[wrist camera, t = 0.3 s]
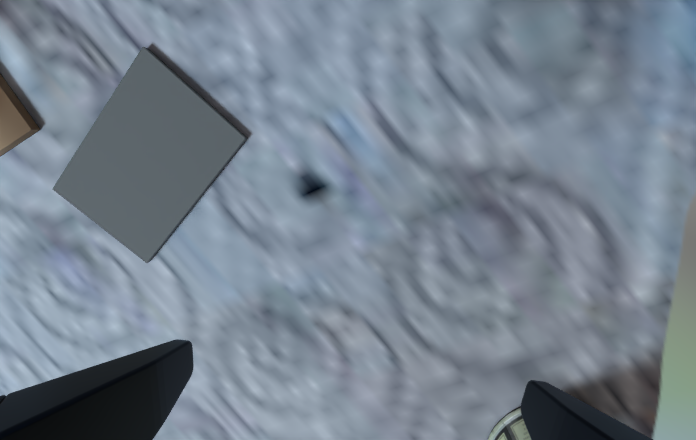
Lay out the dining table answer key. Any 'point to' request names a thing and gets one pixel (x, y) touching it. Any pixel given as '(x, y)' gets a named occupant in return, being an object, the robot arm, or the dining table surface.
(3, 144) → the stand
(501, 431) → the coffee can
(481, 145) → the dining table surface
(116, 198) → the mat
